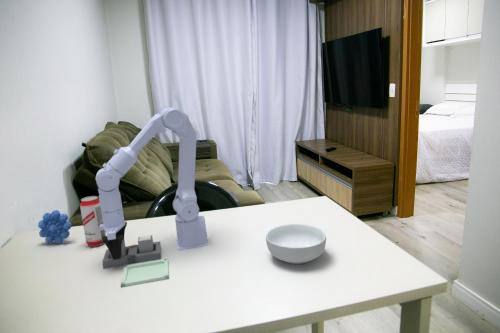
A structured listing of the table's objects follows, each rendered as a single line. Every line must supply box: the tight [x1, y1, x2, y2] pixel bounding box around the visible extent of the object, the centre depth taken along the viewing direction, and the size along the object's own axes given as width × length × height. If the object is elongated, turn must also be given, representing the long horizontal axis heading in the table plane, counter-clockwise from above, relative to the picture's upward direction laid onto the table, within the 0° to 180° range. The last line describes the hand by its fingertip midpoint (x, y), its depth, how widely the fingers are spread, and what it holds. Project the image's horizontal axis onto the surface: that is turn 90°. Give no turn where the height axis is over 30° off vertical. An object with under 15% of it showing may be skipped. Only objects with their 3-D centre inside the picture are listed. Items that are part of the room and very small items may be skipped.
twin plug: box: [137, 234, 154, 254], centre depth 103 cm, size 4×4×6 cm
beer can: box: [79, 195, 107, 248], centre depth 113 cm, size 6×6×16 cm
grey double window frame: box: [101, 241, 162, 270], centre depth 103 cm, size 16×8×3 cm, turn 104°
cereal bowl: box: [265, 223, 327, 265], centre depth 98 cm, size 17×17×7 cm
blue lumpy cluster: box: [37, 210, 73, 245], centre depth 117 cm, size 12×7×12 cm, turn 87°
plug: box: [109, 238, 128, 258], centre depth 101 cm, size 4×4×6 cm
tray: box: [120, 258, 170, 288], centre depth 93 cm, size 12×10×1 cm
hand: (118, 252), depth 102 cm, fingers open, 7 cm apart
